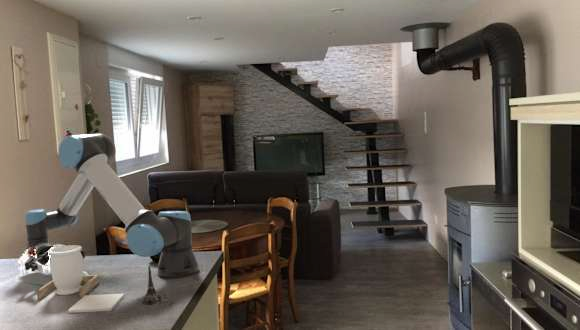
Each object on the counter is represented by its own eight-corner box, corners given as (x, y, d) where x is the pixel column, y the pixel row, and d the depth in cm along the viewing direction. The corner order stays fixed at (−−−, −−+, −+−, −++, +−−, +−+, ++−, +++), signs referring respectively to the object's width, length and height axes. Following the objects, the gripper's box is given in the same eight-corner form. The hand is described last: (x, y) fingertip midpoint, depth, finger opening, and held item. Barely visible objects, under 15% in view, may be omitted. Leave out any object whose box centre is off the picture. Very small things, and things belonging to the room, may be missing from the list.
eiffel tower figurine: (177, 306, 157) (174, 264, 156) (144, 314, 152) (140, 271, 151) (162, 293, 170) (159, 254, 169) (131, 300, 165) (128, 260, 164)
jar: (73, 297, 169) (69, 252, 168) (45, 296, 172) (41, 252, 170) (91, 286, 180) (88, 244, 178) (65, 285, 182) (61, 244, 181)
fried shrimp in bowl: (140, 254, 203) (150, 230, 219) (155, 275, 207) (163, 250, 223) (160, 245, 201) (168, 222, 218) (174, 266, 205) (182, 242, 222)
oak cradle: (99, 282, 184) (98, 274, 183) (82, 297, 169) (82, 288, 168) (58, 284, 184) (57, 276, 183) (37, 299, 169) (36, 290, 168)
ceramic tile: (124, 295, 168) (124, 293, 168) (110, 310, 155) (110, 308, 155) (85, 297, 168) (85, 295, 168) (68, 312, 155) (67, 310, 155)
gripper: (80, 256, 202) (99, 266, 186) (10, 271, 186) (24, 283, 170) (78, 238, 201) (97, 246, 185) (8, 250, 186) (21, 261, 169)
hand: (62, 264), depth 177 cm, fingers open, 13 cm apart
